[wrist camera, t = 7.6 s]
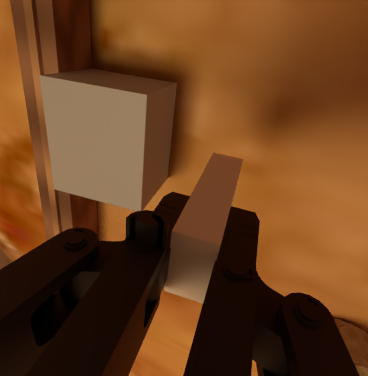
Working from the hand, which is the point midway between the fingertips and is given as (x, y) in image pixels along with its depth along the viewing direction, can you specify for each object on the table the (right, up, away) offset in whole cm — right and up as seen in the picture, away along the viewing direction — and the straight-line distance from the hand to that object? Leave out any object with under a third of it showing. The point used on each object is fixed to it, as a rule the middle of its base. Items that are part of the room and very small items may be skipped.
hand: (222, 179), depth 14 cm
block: (-6, +5, +9) cm, 12 cm away
